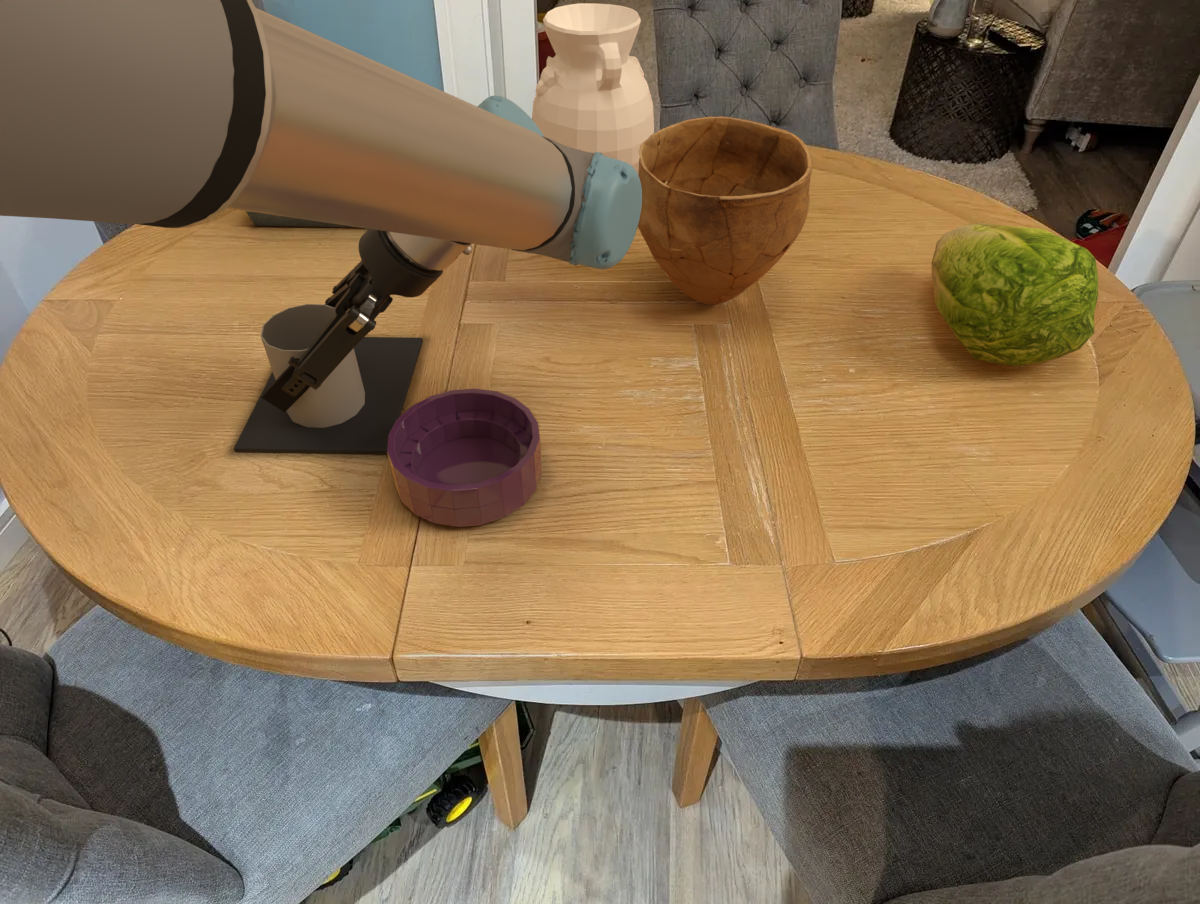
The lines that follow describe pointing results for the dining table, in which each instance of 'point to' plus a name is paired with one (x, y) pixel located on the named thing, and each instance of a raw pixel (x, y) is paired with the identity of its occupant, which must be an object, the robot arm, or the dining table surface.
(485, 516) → the plum bowl
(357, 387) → the cup
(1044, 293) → the lettuce
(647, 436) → the dining table surface
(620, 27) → the pitcher
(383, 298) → the robot arm
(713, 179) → the bowl
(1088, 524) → the dining table surface
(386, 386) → the place mat
